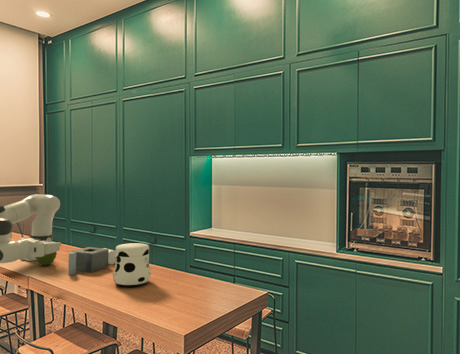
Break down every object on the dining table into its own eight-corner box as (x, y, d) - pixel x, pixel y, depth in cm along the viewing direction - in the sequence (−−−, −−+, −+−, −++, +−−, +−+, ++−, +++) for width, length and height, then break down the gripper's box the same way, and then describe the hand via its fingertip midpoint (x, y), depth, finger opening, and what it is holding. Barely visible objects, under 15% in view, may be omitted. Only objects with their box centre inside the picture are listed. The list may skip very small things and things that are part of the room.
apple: (30, 266, 202) (31, 248, 202) (45, 262, 212) (46, 245, 212) (46, 268, 199) (46, 250, 199) (60, 264, 209) (60, 246, 209)
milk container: (158, 282, 177) (158, 245, 177) (131, 291, 162) (132, 251, 162) (132, 276, 186) (132, 241, 186) (105, 285, 171) (105, 246, 171)
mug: (106, 265, 207) (106, 251, 207) (97, 262, 214) (97, 249, 214) (124, 262, 216) (124, 248, 216) (115, 259, 223) (115, 246, 223)
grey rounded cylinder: (66, 274, 187) (67, 253, 187) (72, 272, 191) (72, 251, 191) (72, 275, 186) (72, 253, 186) (77, 273, 190) (77, 252, 190)
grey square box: (71, 269, 197) (71, 251, 197) (88, 264, 209) (88, 247, 209) (91, 272, 192) (92, 253, 192) (108, 266, 204) (108, 249, 204)
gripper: (11, 253, 168) (37, 247, 181) (44, 257, 160) (68, 251, 173) (11, 239, 168) (37, 235, 181) (44, 243, 160) (68, 238, 173)
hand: (52, 243), depth 177 cm, fingers open, 8 cm apart
